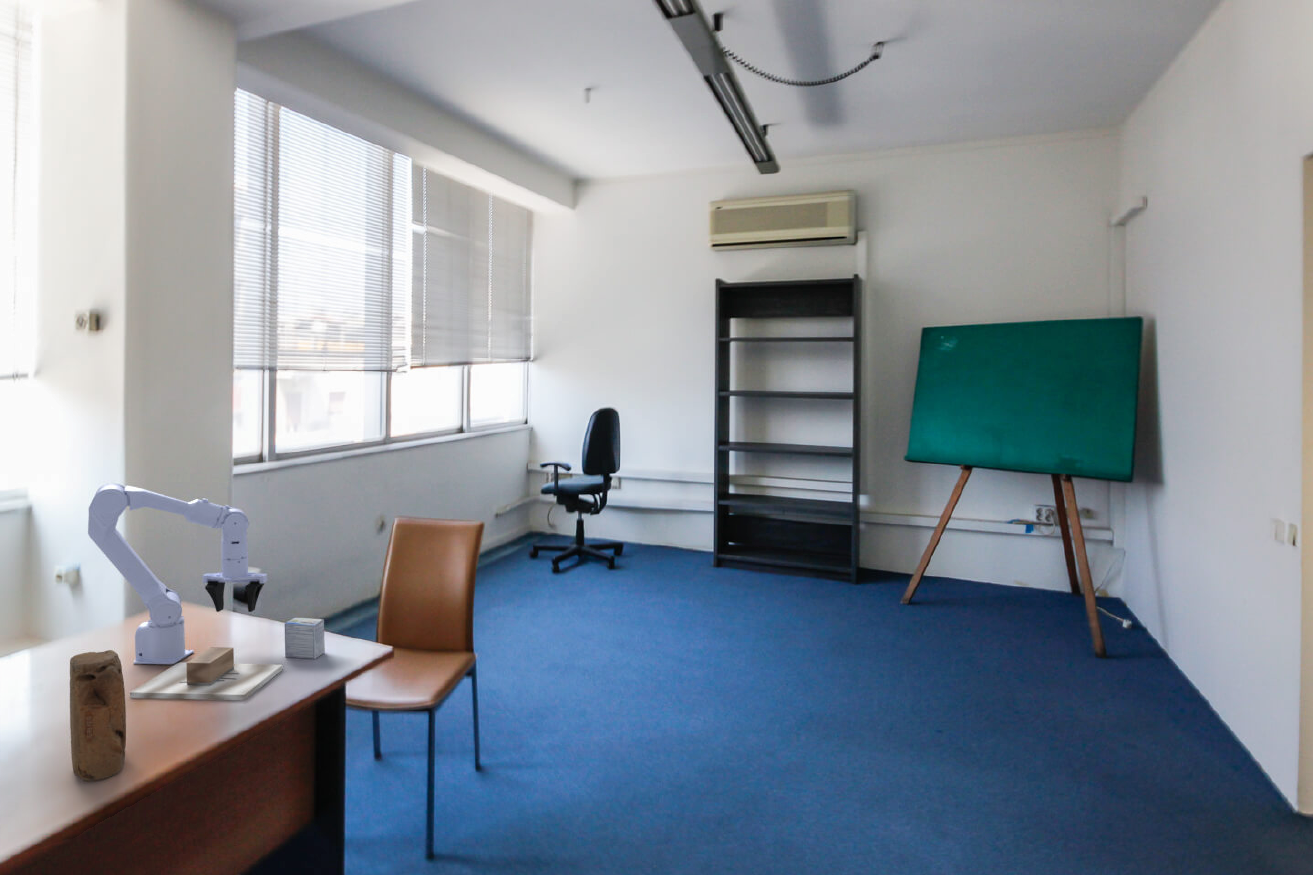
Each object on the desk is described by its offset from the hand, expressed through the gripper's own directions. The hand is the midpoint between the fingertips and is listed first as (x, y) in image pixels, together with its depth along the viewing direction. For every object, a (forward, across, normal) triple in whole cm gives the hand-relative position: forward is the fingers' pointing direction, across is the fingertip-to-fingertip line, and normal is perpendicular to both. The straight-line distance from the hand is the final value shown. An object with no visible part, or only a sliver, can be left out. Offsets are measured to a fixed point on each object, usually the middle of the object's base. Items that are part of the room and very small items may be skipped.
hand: (235, 610), depth 180 cm
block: (+10, +4, -56) cm, 57 cm away
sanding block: (+8, +5, -21) cm, 23 cm away
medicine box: (+10, +19, -5) cm, 22 cm away
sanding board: (+9, +5, -21) cm, 24 cm away
